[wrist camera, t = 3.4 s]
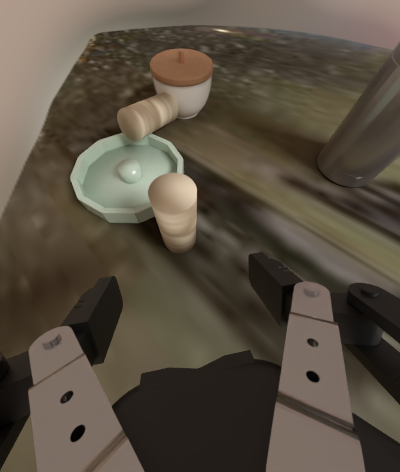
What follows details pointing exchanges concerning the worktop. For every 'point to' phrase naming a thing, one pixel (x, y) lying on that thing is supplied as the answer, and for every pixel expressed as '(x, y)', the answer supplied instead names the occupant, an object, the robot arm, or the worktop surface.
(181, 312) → the worktop surface
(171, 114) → the beige banded cylinder
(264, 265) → the robot arm
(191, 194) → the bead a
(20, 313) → the worktop surface
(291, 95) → the worktop surface
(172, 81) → the lidded jar
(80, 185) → the ring dish
